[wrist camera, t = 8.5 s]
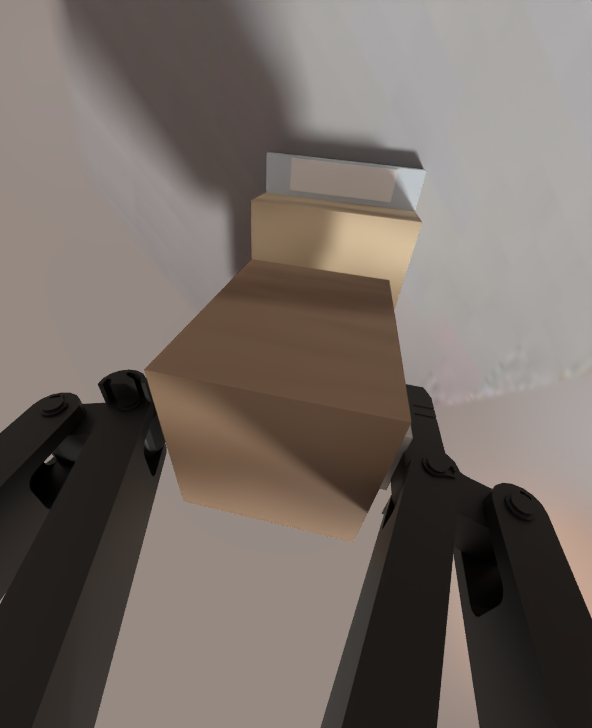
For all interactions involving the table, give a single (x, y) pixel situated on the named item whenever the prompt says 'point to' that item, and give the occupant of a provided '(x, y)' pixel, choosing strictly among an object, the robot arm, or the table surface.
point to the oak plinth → (334, 236)
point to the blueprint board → (344, 181)
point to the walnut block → (286, 398)
